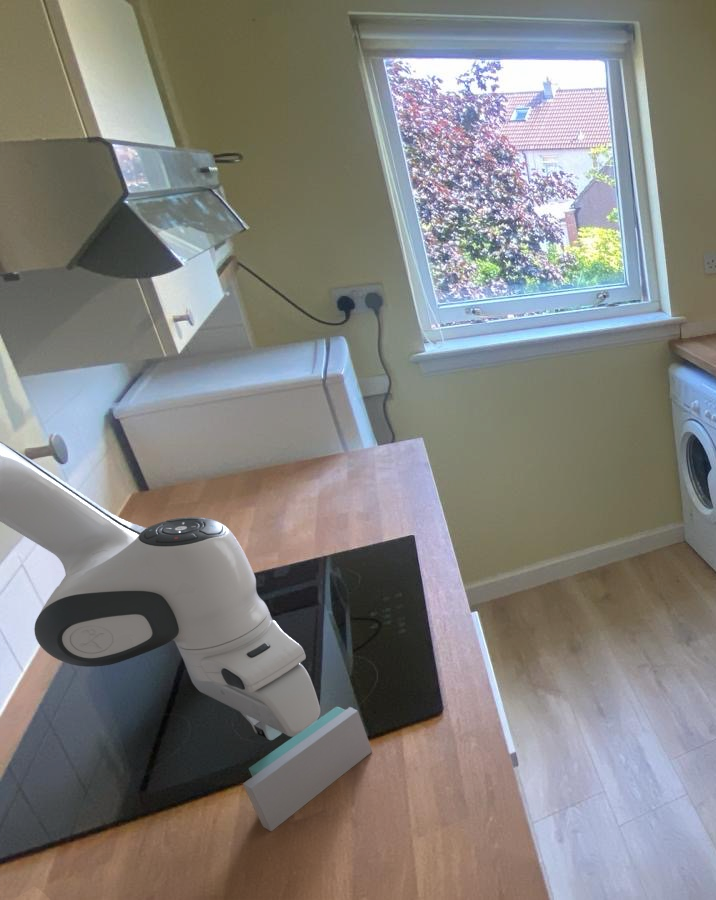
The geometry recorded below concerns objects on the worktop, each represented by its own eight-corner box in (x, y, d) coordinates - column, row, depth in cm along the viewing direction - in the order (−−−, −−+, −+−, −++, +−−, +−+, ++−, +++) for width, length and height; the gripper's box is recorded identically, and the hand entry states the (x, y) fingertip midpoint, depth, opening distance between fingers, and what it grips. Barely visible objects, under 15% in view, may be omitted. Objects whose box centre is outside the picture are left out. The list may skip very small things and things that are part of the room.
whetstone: (271, 831, 85) (250, 788, 82) (247, 817, 87) (226, 774, 84) (372, 751, 96) (357, 710, 93) (349, 740, 97) (334, 699, 95)
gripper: (152, 638, 87) (194, 725, 93) (255, 686, 79) (295, 779, 85) (209, 608, 92) (246, 692, 98) (312, 651, 84) (346, 740, 90)
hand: (270, 733), depth 91 cm, fingers closed
